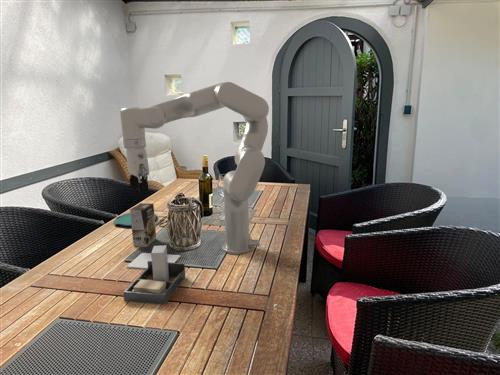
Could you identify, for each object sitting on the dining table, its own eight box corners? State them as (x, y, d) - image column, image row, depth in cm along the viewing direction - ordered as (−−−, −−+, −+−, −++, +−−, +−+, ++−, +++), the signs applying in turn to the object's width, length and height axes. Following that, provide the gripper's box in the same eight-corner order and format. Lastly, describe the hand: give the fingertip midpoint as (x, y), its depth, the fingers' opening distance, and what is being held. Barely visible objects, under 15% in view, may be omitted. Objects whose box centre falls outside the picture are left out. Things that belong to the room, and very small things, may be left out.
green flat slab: (127, 214, 194) (127, 210, 193) (181, 217, 189) (181, 213, 188) (106, 228, 175) (106, 223, 174) (166, 232, 170) (166, 227, 169)
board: (180, 256, 142) (180, 255, 142) (168, 270, 130) (168, 269, 130) (142, 253, 145) (142, 252, 145) (126, 267, 133) (126, 266, 133)
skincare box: (156, 278, 125) (153, 245, 122) (169, 277, 126) (166, 244, 123) (153, 287, 119) (150, 253, 116) (167, 286, 120) (164, 252, 117)
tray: (185, 276, 126) (184, 263, 124) (165, 304, 109) (163, 289, 108) (149, 274, 128) (148, 261, 127) (124, 300, 112) (122, 285, 111)
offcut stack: (167, 293, 116) (167, 281, 115) (161, 302, 111) (160, 289, 110) (139, 291, 118) (138, 279, 117) (132, 299, 113) (131, 286, 112)
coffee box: (147, 247, 151) (143, 209, 147) (133, 246, 152) (129, 209, 148) (157, 238, 160) (154, 203, 156) (143, 238, 161) (140, 202, 157)
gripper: (154, 144, 124) (158, 193, 129) (137, 140, 138) (141, 184, 142) (132, 147, 120) (137, 197, 124) (116, 142, 134) (121, 187, 138)
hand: (139, 190), depth 133 cm, fingers open, 9 cm apart
